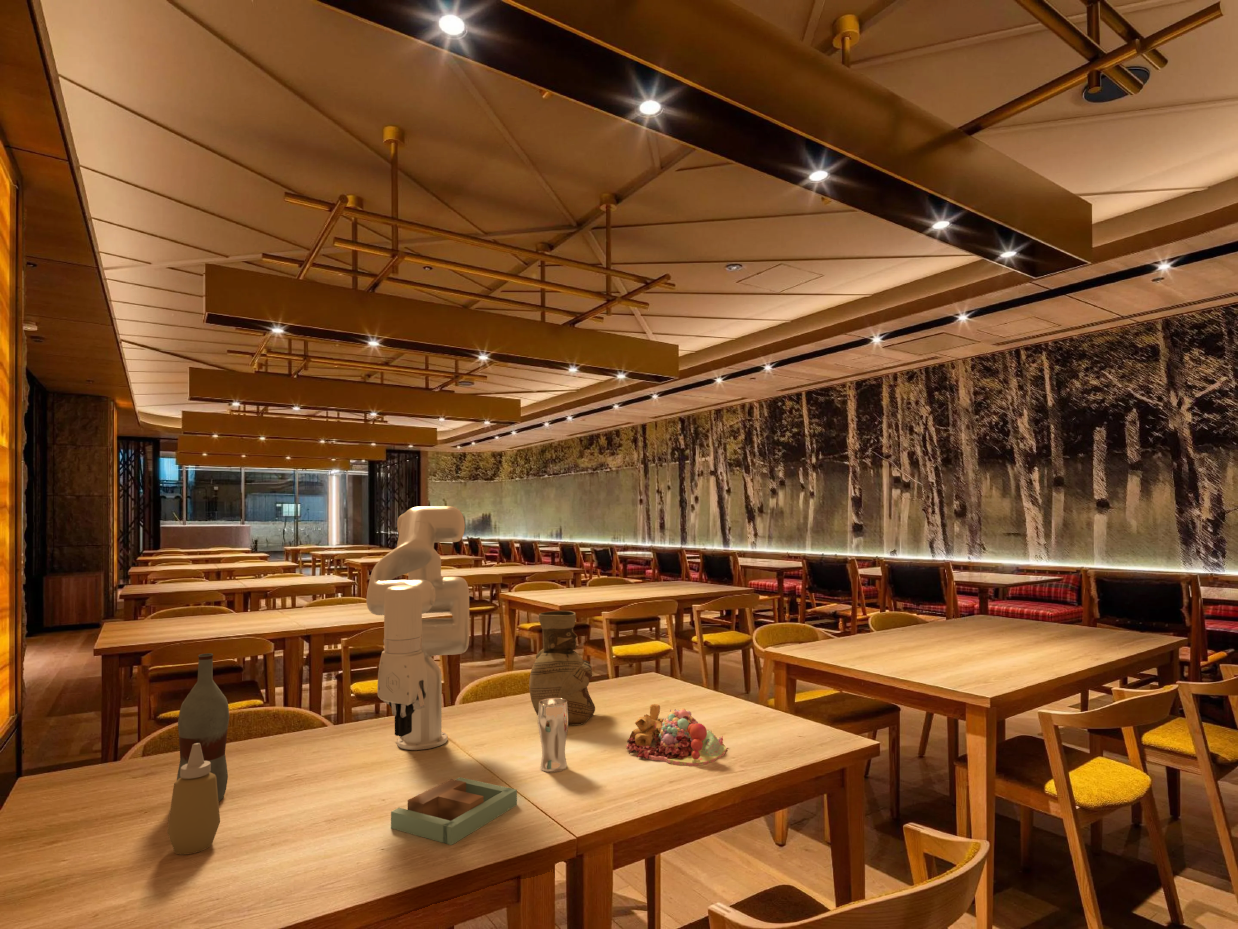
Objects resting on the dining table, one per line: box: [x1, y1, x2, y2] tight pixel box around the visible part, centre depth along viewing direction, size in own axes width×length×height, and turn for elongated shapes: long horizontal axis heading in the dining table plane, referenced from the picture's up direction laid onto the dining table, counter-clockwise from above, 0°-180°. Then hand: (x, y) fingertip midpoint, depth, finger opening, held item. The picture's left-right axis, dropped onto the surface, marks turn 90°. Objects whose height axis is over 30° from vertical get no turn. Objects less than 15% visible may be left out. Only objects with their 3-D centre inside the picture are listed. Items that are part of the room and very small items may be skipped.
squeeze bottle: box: [167, 743, 221, 855], centre depth 123 cm, size 8×8×18 cm
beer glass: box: [537, 698, 569, 773], centre depth 159 cm, size 7×7×15 cm
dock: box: [390, 776, 518, 846], centre depth 134 cm, size 15×19×3 cm
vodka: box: [176, 652, 230, 802], centre depth 144 cm, size 9×9×30 cm
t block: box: [407, 778, 484, 821], centre depth 134 cm, size 12×12×4 cm
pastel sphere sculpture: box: [625, 703, 728, 767], centre depth 172 cm, size 25×24×9 cm
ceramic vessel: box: [528, 610, 596, 726], centre depth 199 cm, size 19×21×30 cm
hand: (403, 734), depth 143 cm, fingers closed
